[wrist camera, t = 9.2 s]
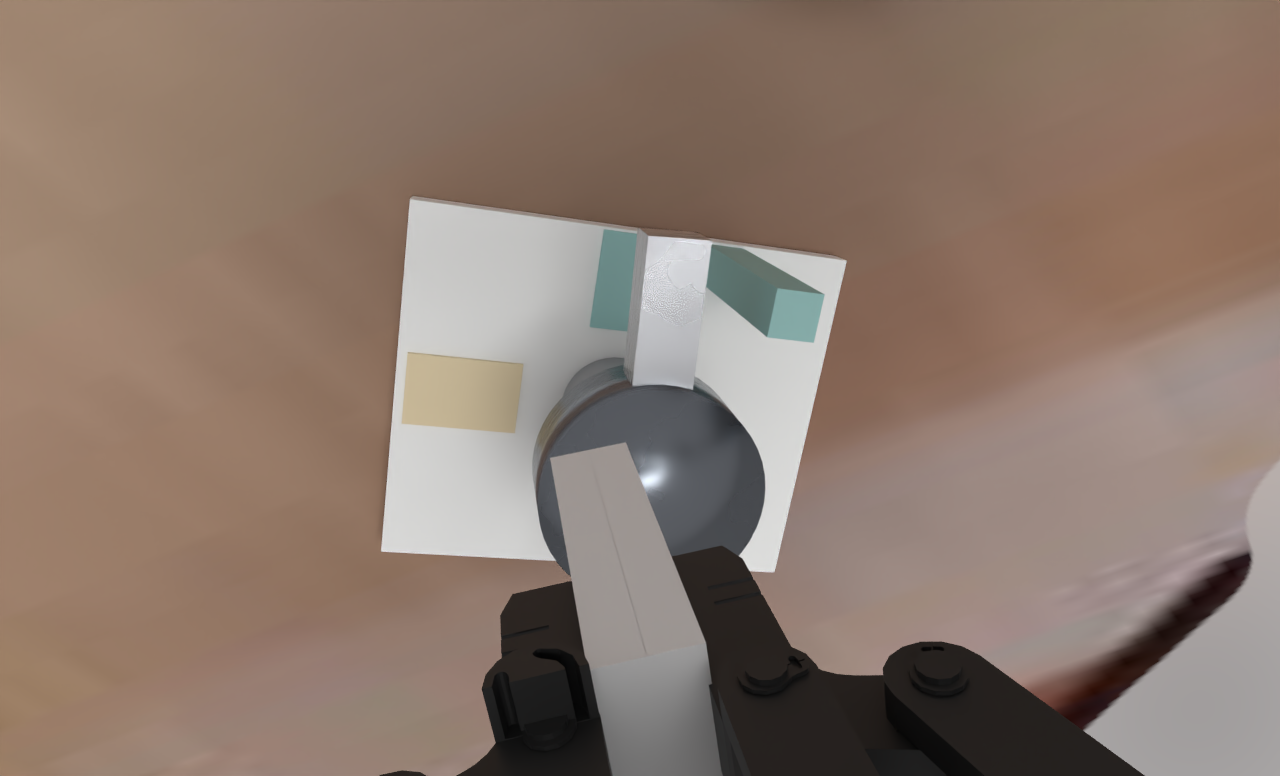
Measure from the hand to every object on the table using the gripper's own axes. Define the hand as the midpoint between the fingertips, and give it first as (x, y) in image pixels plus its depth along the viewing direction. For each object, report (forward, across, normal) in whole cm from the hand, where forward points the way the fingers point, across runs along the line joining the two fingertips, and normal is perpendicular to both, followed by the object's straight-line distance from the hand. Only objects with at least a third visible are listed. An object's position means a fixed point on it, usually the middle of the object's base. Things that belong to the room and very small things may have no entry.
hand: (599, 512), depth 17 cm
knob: (+13, +2, -4) cm, 14 cm away
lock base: (+20, +2, -5) cm, 21 cm away
